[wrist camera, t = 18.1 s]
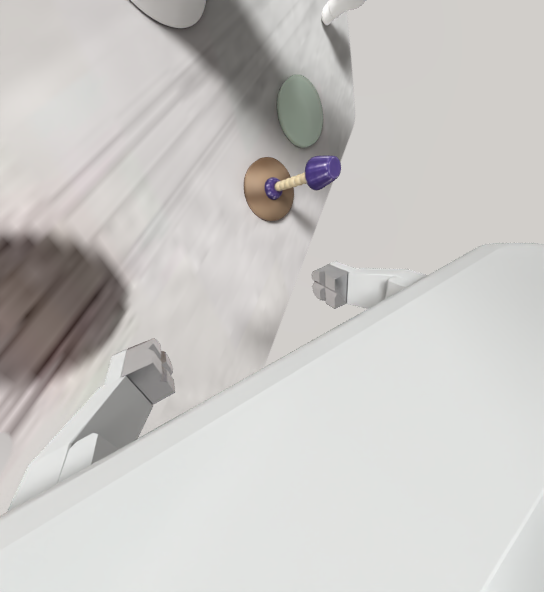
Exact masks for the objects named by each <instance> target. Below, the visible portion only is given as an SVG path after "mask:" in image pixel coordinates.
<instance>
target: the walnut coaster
mask: <svg viewBox="0 0 544 592" xmlns="http://www.w3.org/2000/svg"><path fill="white" fill-rule="evenodd" d="M271 177H275V178H277V179H279V180H280V181H282V180H286V179H287V178H291V177H290V174H289V172H288V171H287V169H286V168H285V167H284V165H283V164H282V163H280V162H279V161H278V160H276V159H274V158H270V157H264V158H261V159H259V160H257V161H255V162H254V163H253V164H252V165H251V166H250V167H249V168H248V170H247V172H246V175H245V178H244V194H245V198H246V201H247V203H248V205H249V207H250V209H251V210H252V211H253V212H254V214H255V215H257V216H258V217H259V218H261V219H263V220H266V221H274V220H279V219H281V218H283V217H284V216H285V215H286V214H287V213H288V212H289V210H290V208H291V206H292V203H293V198H294V189H293V187H292V188H289V189H288V188H287V189H286V190H283V191H282V194H281V196H280V197H279V198H278V199H276V200H272V199H270V198H268V196H267V195H266V193H265V182H266V181H267V179H269V178H271Z"/></svg>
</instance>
